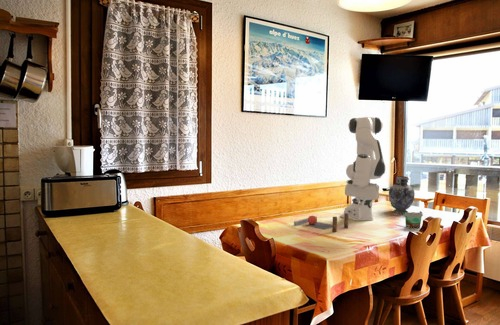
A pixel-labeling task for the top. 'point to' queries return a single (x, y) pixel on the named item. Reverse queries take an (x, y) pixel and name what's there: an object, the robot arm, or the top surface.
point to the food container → (413, 219)
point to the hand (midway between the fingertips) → (360, 205)
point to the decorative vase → (401, 195)
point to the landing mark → (320, 225)
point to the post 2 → (346, 220)
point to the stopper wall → (301, 221)
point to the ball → (312, 220)
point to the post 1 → (334, 224)
